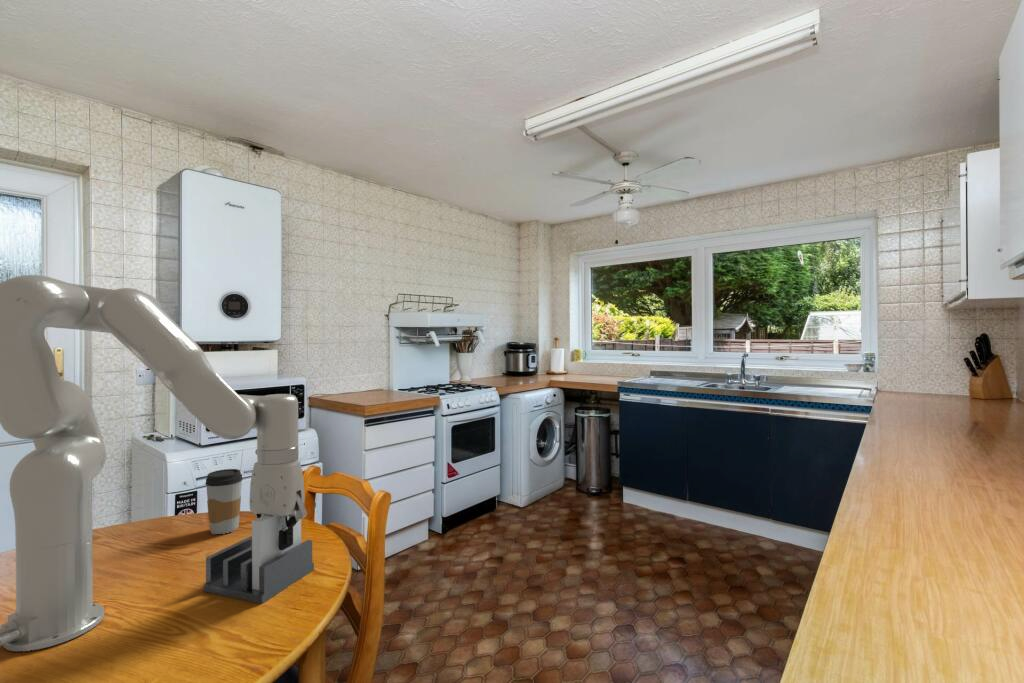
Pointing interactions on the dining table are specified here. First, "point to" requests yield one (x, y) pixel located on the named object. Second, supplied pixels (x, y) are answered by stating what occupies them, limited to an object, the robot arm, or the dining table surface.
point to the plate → (268, 542)
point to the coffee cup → (224, 500)
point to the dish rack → (234, 571)
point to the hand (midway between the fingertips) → (278, 545)
